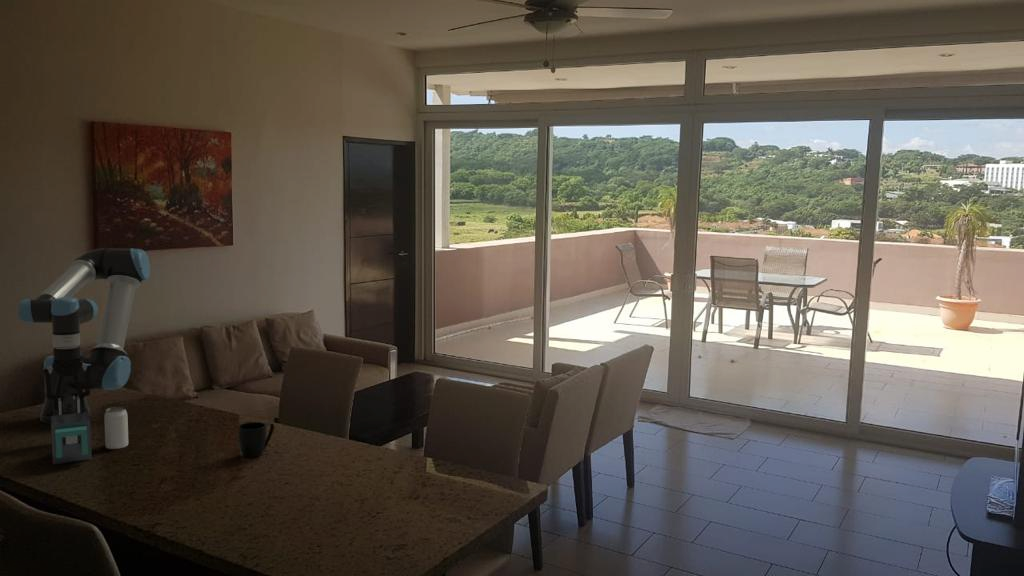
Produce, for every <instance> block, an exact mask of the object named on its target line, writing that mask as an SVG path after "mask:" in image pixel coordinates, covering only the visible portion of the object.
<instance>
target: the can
mask: <svg viewBox="0 0 1024 576" xmlns="http://www.w3.org/2000/svg"><path fill="white" fill-rule="evenodd" d="M126 409H127V408H126V407H124V406H115V407H114V406H113V407H109V408H106V409H105V413H104V439H105V441H104V443H105V444H104V445H105V446H104V447H105V448H106V449H107V450H120V449H124V448H127V446H128V445H129V425H128V423H129V421H128V418H129V417H128V412H127V410H126Z"/></svg>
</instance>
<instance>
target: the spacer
mask: <svg viewBox="0 0 1024 576" xmlns="http://www.w3.org/2000/svg"><path fill="white" fill-rule="evenodd" d="M77 435H81V446H82V455H85V454H88V443H87V426H79V427H70V428H61V429H55V438H56V458H62V437H68V436H77Z"/></svg>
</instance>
